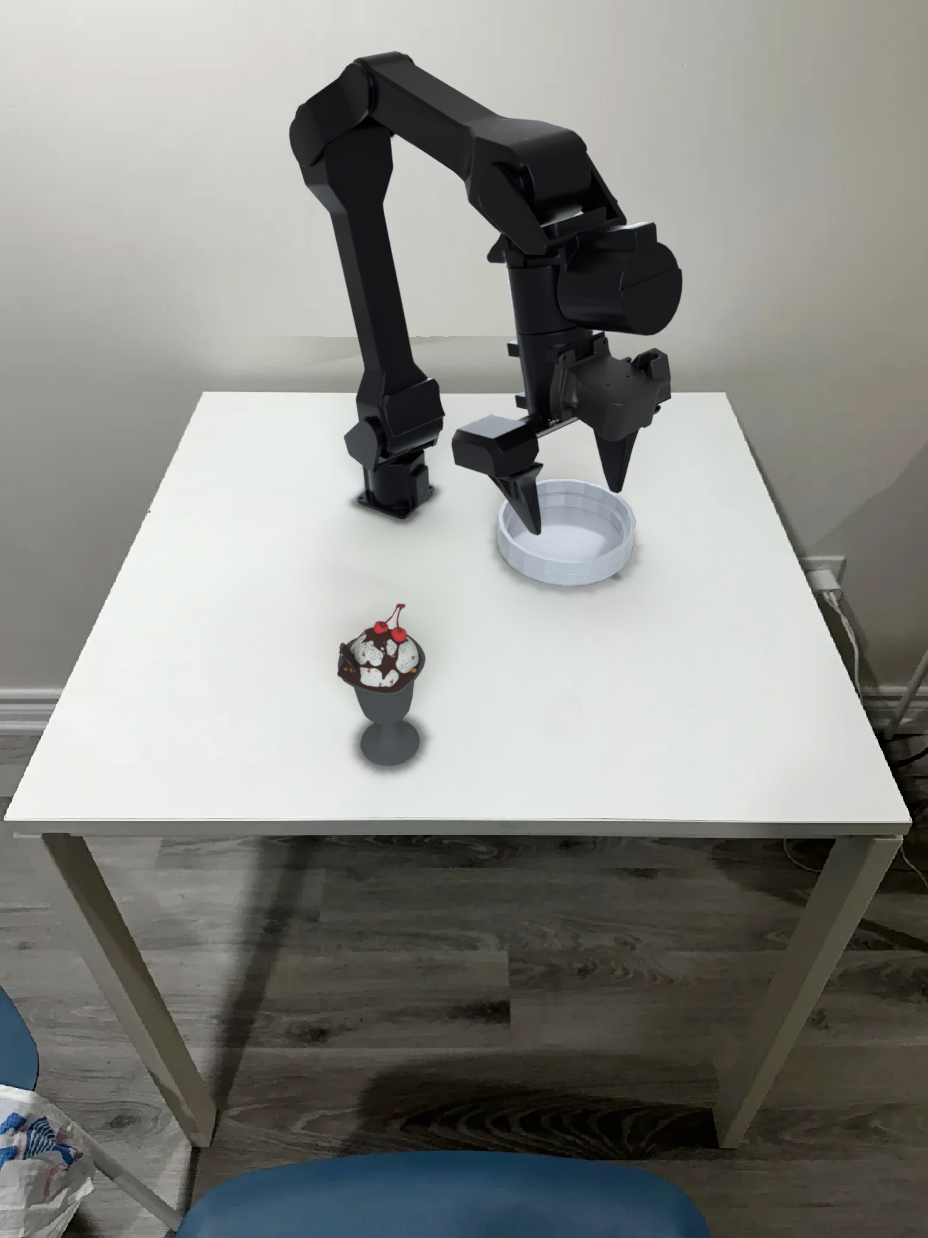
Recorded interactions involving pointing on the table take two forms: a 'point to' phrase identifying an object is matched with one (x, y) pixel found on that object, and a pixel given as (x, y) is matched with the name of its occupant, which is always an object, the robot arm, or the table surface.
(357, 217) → the robot arm
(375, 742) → the sundae
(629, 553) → the pan
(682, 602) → the table surface
